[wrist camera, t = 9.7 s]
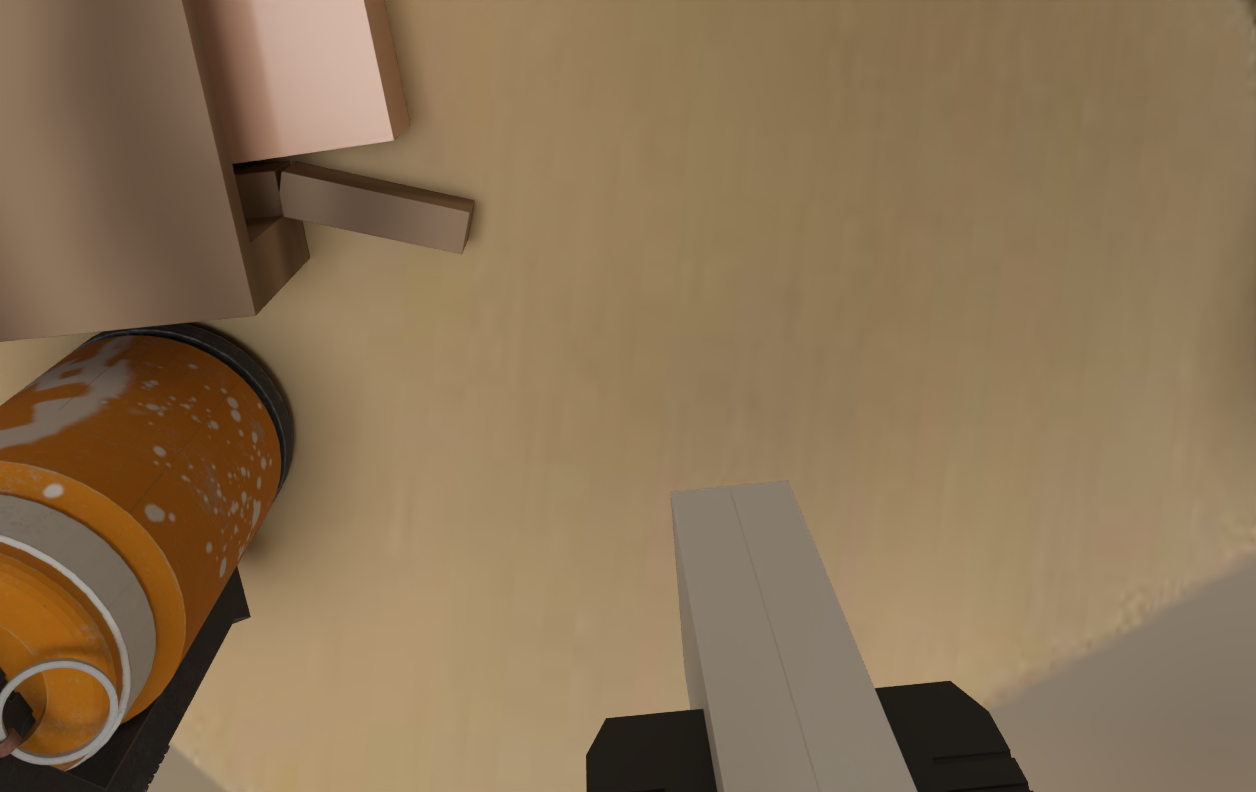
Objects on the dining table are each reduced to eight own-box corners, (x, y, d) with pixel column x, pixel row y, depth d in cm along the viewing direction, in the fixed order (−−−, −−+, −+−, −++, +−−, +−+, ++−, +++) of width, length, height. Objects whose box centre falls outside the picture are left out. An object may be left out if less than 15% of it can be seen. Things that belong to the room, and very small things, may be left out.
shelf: (405, -268, 33) (362, -327, 26) (480, 240, 39) (460, 294, 32) (-317, -196, 33) (-539, -238, 26) (-130, 303, 39) (-273, 369, 32)
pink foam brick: (367, -93, 35) (342, -101, 31) (412, 123, 38) (393, 140, 34) (-54, -31, 35) (-128, -31, 31) (20, 180, 38) (-41, 203, 34)
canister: (224, 278, 39) (-99, 559, 20) (361, 525, 43) (196, 949, 24) (10, 365, 40) (-489, 711, 21) (164, 600, 44) (-142, 1064, 25)
